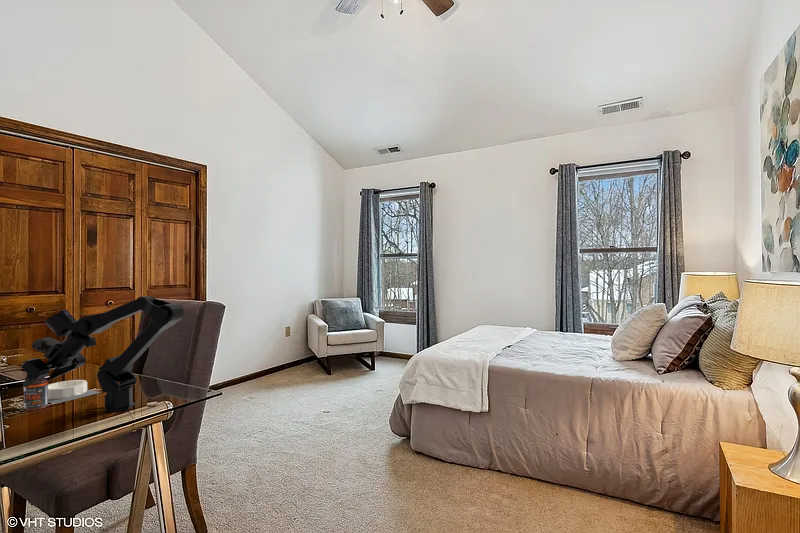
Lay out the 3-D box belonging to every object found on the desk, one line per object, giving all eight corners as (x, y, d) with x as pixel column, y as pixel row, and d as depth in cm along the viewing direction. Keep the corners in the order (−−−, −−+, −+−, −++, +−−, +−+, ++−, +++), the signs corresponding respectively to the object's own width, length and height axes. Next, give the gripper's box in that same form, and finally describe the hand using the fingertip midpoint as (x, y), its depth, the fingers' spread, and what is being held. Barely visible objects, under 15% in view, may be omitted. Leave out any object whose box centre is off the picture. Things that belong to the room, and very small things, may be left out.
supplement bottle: (22, 413, 133) (21, 376, 133) (24, 408, 138) (24, 372, 138) (47, 409, 136) (46, 373, 136) (48, 404, 141) (48, 369, 141)
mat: (101, 393, 153) (101, 392, 153) (55, 404, 141) (55, 403, 141) (74, 387, 162) (74, 386, 162) (28, 398, 149) (28, 397, 149)
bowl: (92, 388, 158) (92, 378, 158) (77, 397, 147) (77, 387, 147) (54, 391, 155) (54, 381, 155) (35, 401, 144) (35, 390, 144)
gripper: (76, 324, 146) (45, 358, 147) (26, 333, 128) (-9, 371, 128) (99, 348, 146) (68, 381, 146) (53, 360, 127) (17, 398, 128)
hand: (37, 382), depth 137 cm, fingers open, 9 cm apart
